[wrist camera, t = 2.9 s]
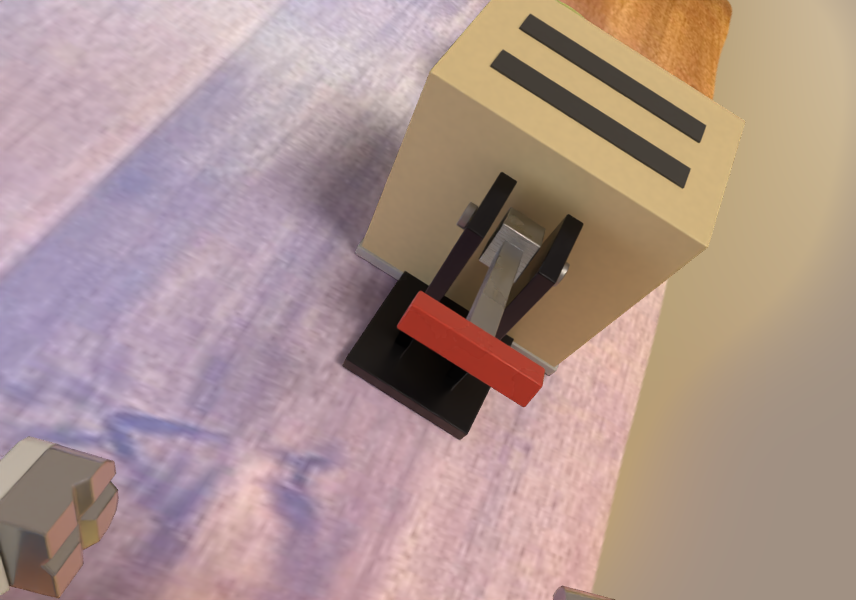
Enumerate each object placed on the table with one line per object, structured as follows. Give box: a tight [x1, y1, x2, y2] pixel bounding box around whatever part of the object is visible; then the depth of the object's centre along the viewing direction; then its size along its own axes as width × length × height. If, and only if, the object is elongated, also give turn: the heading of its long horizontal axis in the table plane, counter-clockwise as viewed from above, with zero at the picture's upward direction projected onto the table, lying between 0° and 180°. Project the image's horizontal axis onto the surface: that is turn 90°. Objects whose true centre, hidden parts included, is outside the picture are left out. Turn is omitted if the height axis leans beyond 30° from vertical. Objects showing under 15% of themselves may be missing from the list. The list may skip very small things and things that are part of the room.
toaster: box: [355, 0, 745, 376], centre depth 40 cm, size 11×16×17 cm
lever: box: [397, 207, 546, 407], centre depth 28 cm, size 13×5×2 cm, turn 153°
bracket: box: [343, 172, 584, 440], centre depth 37 cm, size 10×9×15 cm
